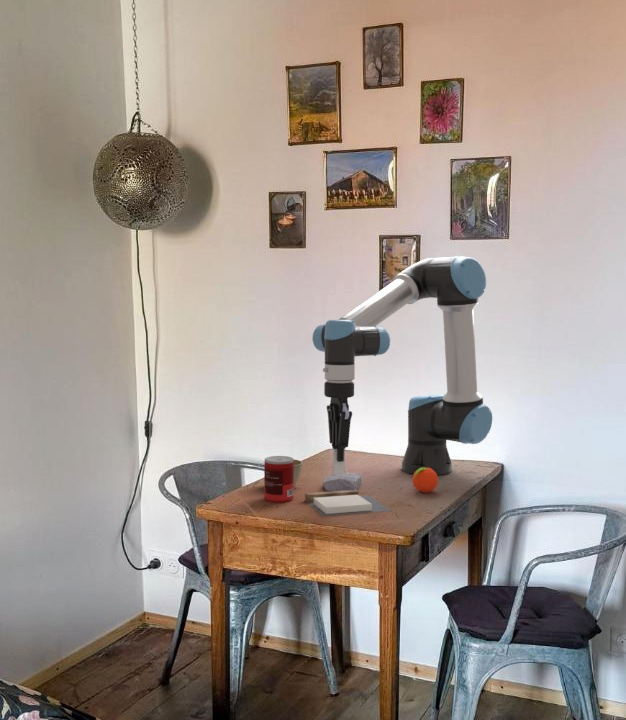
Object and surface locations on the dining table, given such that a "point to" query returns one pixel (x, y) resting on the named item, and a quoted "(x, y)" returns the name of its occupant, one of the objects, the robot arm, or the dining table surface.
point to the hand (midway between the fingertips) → (338, 473)
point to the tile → (342, 504)
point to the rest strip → (329, 494)
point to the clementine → (425, 479)
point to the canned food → (279, 479)
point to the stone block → (342, 482)
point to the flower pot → (297, 470)
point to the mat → (375, 508)
